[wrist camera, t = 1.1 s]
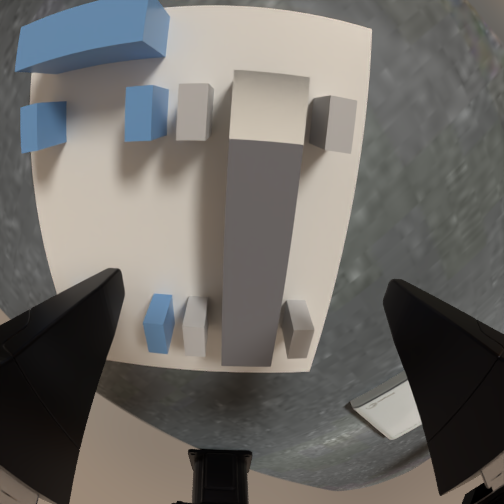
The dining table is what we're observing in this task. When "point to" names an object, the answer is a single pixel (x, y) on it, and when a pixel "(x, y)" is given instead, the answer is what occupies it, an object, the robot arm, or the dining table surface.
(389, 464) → the dining table surface
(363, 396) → the hard drive
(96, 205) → the board
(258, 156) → the dark grey bar
